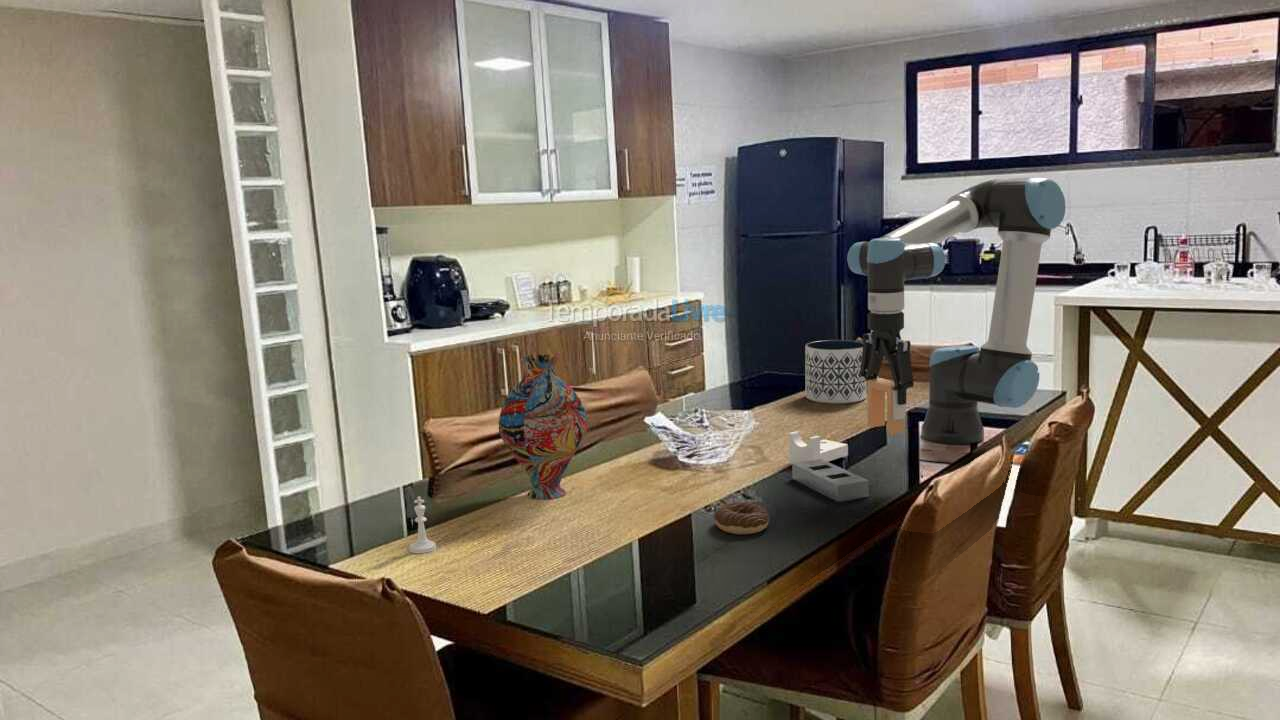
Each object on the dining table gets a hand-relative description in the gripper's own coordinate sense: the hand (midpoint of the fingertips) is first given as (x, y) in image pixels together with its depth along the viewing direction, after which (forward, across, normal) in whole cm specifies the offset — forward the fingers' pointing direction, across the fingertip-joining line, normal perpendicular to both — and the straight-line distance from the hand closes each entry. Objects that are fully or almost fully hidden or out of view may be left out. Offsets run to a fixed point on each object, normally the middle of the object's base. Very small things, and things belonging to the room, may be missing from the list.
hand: (886, 414), depth 208 cm
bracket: (+15, -18, -6) cm, 24 cm away
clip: (+3, 0, 0) cm, 3 cm away
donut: (+14, +13, -43) cm, 47 cm away
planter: (+16, -74, +35) cm, 83 cm away
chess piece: (+12, -3, -101) cm, 102 cm away
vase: (+13, -24, -71) cm, 76 cm away
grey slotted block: (+14, 0, -15) cm, 20 cm away
